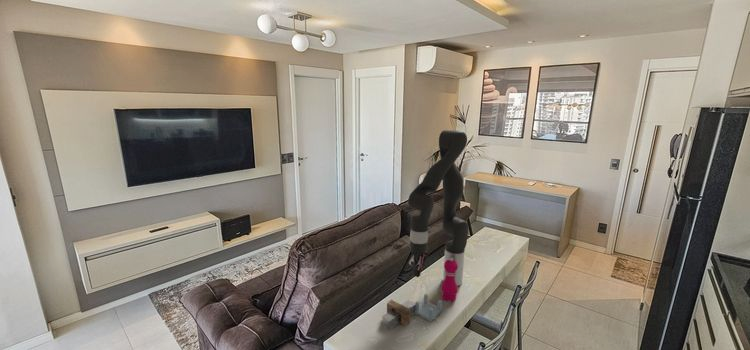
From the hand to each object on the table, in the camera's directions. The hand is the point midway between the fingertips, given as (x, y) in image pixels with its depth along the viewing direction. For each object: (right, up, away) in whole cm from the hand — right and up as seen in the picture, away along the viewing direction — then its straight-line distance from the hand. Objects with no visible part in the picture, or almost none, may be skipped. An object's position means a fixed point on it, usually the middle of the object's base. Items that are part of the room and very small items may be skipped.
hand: (417, 276), depth 136 cm
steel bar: (-8, -16, -6) cm, 19 cm away
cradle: (+4, -14, -2) cm, 15 cm away
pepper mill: (+16, -12, +8) cm, 21 cm away
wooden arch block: (-9, -15, -7) cm, 19 cm away
